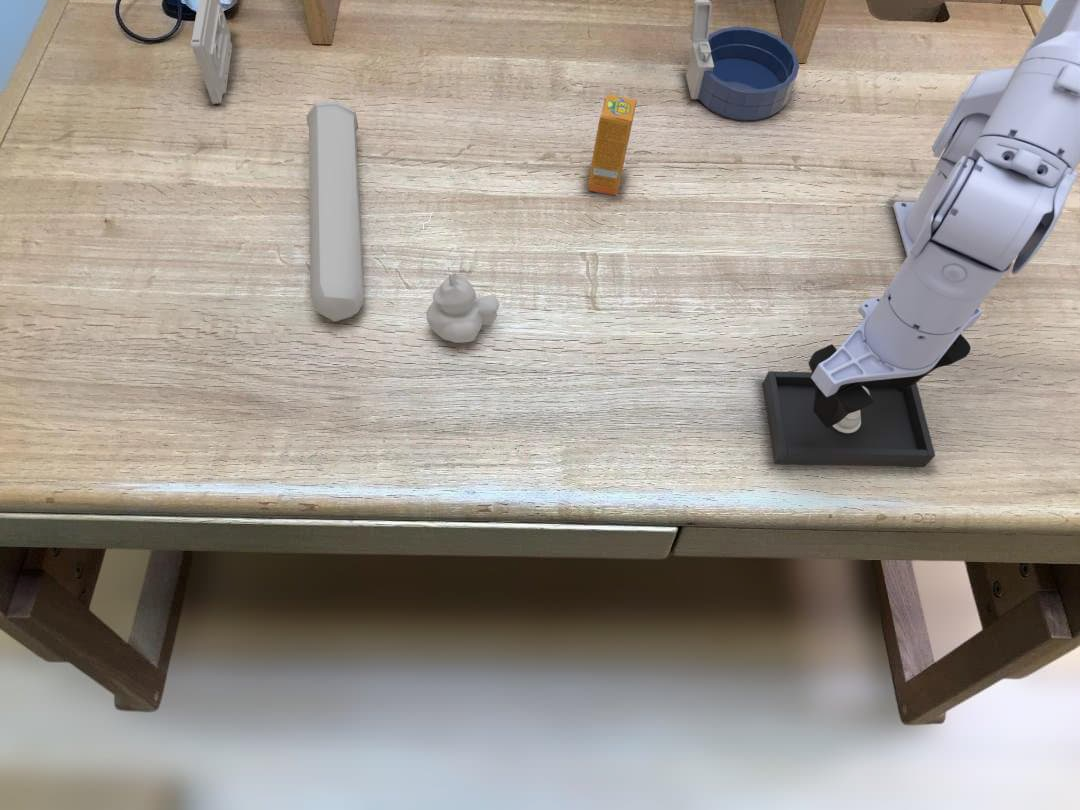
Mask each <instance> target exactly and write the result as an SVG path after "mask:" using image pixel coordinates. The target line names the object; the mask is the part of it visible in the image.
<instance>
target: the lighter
mask: <svg viewBox="0 0 1080 810" xmlns="http://www.w3.org/2000/svg"><path fill="white" fill-rule="evenodd" d="M712 7H713V3H712V1H710V0H694V1H693V3H692V15H691V16H692V17H691V25H690V37H689V39H690V40H691V42H692V46H691V51H690V54H689V55H690V56H689V60H688V64H687V68H686V74H685V78H686V83H687V88H688V92H689V95H690V99H691V100H699V98H698V95H699V91H700V87H701V83H702V79H703V74H704V71H710V72H711V73H713V69H714V64H713V60H712V56H711V49H710V45H709V42H708V38H709V34H710V28H711V18H712V9H713V8H712Z"/></svg>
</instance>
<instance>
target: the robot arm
mask: <svg viewBox="0 0 1080 810" xmlns="http://www.w3.org/2000/svg"><path fill="white" fill-rule="evenodd" d="M931 150H932V152H933V154H932V155H933V157H936V158H939V159H938V161H937V163H936V165H935V167H934V169H933V171H932V173H931V174H930V176H929V178H928V180H927V181H926V183H925V185H924V186H923V188H922V190H920V193H919V195H918V197H917V198H916V200H915V201H895V202H894V204H893V205H892V209H893V212H894V216H895V218H896V222H897V226H898V229H899V233H900V236H901V240H902V244H903V248H904V251H905V255H906V258H905V259H904V261H903V263H902V264H901V266H900V267H899V269H898V270H897V272H896V274H895V275H894V277H893V278H892V280H891V282H890V284H889V285H888V287H887V288H886V289H885V291H884V293H883V295H882V296H881V297H880V296H874V297H872V298H870V299H868V300H865V301H863V302H862V303H861V304H860V306H859V307H858V313H859V315H860V316H861V317H862V318H863V319H862V321H861V322H860V323H859V324H858V325H857V327H856V328H855V329H854V330H853V331H852V332H851V334H850V335H849V336H848V337H847V338H846V339H845V340H844V342H842V344H841V345H840V346H839V348H836V347H835V346H834V344H832V343H831V344H828V345H827V346H825V347H822V348H820V349H818V350H816V351H815V352H813V353H812V355H811V357H810V359H809V361H808V367H809V369H810V372H812V376H811V379H812V380H813V381H814V382H815V400H814V407H813V411H814V412H815V414H816V415H817V416H818V418H819V419H820V420H821V421H822V423H823V424H824V425H825V427H827V428H829V427H831V426H833V425H835V424H837V423H839V422H840V421H841V420H842V419H844V418H845V417H846V416H847V415H848V414H849V413H852V412H855V411H858V410H861V409H863V408H865V407H867V406H869V405H871V404H873V403H875V401H874V400H873V399H872V398H871V396H870V395H869V394H868V393H867V392H866V390H865V389H864V388H863V387H862V386H861V384H862V383H863V382H864V381H874V380H884V379H888V381H889V382H890V383H891V384H892V385H893V386H894V388H895V389H896V390H897V391H898V392H901V391H903V390H905V389H907V388H909V387H910V386H912V385H914V384H915V383H919V381H921V380H922V379H923V378H925V377H926V376H928V375H929V374H931V372H933V371H935V370H937V369H938V368H943V367H945V366H950V365H953V364H956V363H957V362H960V361H961V360H963V359H965V358H966V357H967V356H968V355H970V353H971V351H972V350H971V344H970V343H969V341H968V340H967V339H966V338H965V337H964V336H963V335H962V332H963V331H966V330H968V329H970V328H972V327H973V326H974V324H975V323H976V322H977V321H978V320H979V318H980V317H981V316H982V315H983V314H984V312H983V311H982V310H981V309H980V307H979V306H980V305H981V304H982V303H983V301H984V300H985V299H986V298H987V297H988V295H990V293H991V292H992V291H993V289H994V288H995V287H996V286H997V284H998V283H999V282H1000V280H1001V279H1002V278H1003V277H1004V275H1005V274H1006V273H1007V271H1008V270H1009V269H1010V268H1011V266H1012V264H1013V266H1012V269H1011V273H1012V275H1017V274H1019V273H1020V272H1021V271H1022V270H1023V269H1024V268H1025V266H1027V264H1029V262H1030V261H1031V260H1032V259H1033V258H1034V257H1035V256H1036V254H1037V253H1038V252H1039V251H1040V249H1041V248H1042V247H1043V245H1044V244H1045V242H1046V241H1047V239H1048V238H1049V236H1050V235H1051V233H1052V231H1053V230H1054V229H1055V227H1056V224H1057V223H1058V221H1059V219H1060V217H1061V215H1062V212H1063V209H1064V207H1065V205H1066V202H1067V200H1068V197H1069V194H1070V192H1071V189H1072V188H1073V186H1074V184H1075V182H1076V180H1077V177H1078V176H1079V174H1080V173H1079V172H1078V171H1076V168H1077V167H1078V165H1079V163H1080V0H1056V2H1055V3H1054V5H1053V7H1052V8H1051V10H1050V12H1049V13H1048V14H1047V16H1046V17H1045V19H1044V21H1043V23H1042V24H1041V26H1040V28H1039V29H1038V31H1037V32H1036V35H1035V36H1034V37H1033V39H1032V40H1031V42H1030V44H1029V45H1028V47H1027V49H1026V50H1025V53H1024V54H1023V56H1022V57H1021V59H1020V60H1019V62H1018V64H1017V65H1016V66H1015V65H1014V66H1008V67H1001V68H1000V67H999V68H992V69H986V70H982V71H979V72H978V74H977V76H974V77H972V78H971V79H970V82H969V84H968V85H967V87H966V88H965V90H964V92H962V93H961V94H960V96H959V97H958V99H957V101H956V103H955V105H954V107H953V108H952V110H951V112H950V114H949V116H948V118H947V119H946V121H945V123H944V125H943V126H942V128H941V129H940V132H939V134H938V135H937V137H936V139H935V140H934V142H933V144H932V146H931ZM1014 260H1015V261H1014ZM1013 262H1014V263H1013Z"/></svg>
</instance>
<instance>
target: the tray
mask: <svg viewBox="0 0 1080 810" xmlns="http://www.w3.org/2000/svg"><path fill="white" fill-rule="evenodd" d="M811 376H812V372H811V371H778V370H776V371H774V370H771V371H770V370H768V371H767V373H766V376H765V377H764V380H763V381H762V389H763V396H764V403H765V409H766V416H767V421H768V428H769V435H770V442H771V447H772V448H771V449H772V454H773V455H772V456H773V463H774V464H775V465H819V466H821V465H825V466H833V465H834V466H873V467H874V466H876V467H877V466H878V467H879V466H880V467H926V466H927V465H928V464H929V463H930V462H931V461H932V460H933V459H935V457H936V454H935V450H934V446H933V445H934V444H933V443H932V437H931V434H930V430H929V426H928V423H927V418H926V415H925V411H924V407H923V403H922V399H921V395H920V391H919V387H918V382H916V383H915V384H914V385H912V386H910V387H909V388H907V389H905V390H903V391H901V392H898V391H897V390H896V389H895V388H894V386H893V385H892V384H891V383H890V382H889V381H888V379H884V380H874V381H864V382H863V383H862V384H861V386H864V387H866V388H867V389H868V390H869V393H870V396H871V398H872V399H873V400H874V401H875V403H873V404H871V405H869V406H867V407H865V408H863V409H861V410H860V412H861V413H860V414H861V425H860V427H859V429H858V430H857V431H855V432H853V433H843V432H840V431H838V430H836V429H835V428H834V427H833V426H831V427H829V428H827V427H825V425H824V424H823V423H822V421H821V420H820V419H819V418H818V416H817V415H816V414H815V412H814V411H813V407H814V400H815V382H814V381H813V380H812V379H811Z"/></svg>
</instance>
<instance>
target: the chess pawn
mask: <svg viewBox="0 0 1080 810" xmlns="http://www.w3.org/2000/svg"><path fill="white" fill-rule="evenodd" d="M862 387H863V388H864V389H865V390H866V392H867V393H868V394H869V395H870V393H869V390H868V389H867V388H866V387H864V386H862ZM860 413H861V412H860V410H858V411H855V412H852V413H849V414H848V415H847V416H846V417H845V418H844V419H842V420H841V421H840V422H839V423H837V424H835V425H833V427H834V428H835V429H836V430H838V431H840V432H843V433H853V432H855V431H857V430H858V429H859V427H860V425H861V414H860Z"/></svg>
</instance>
